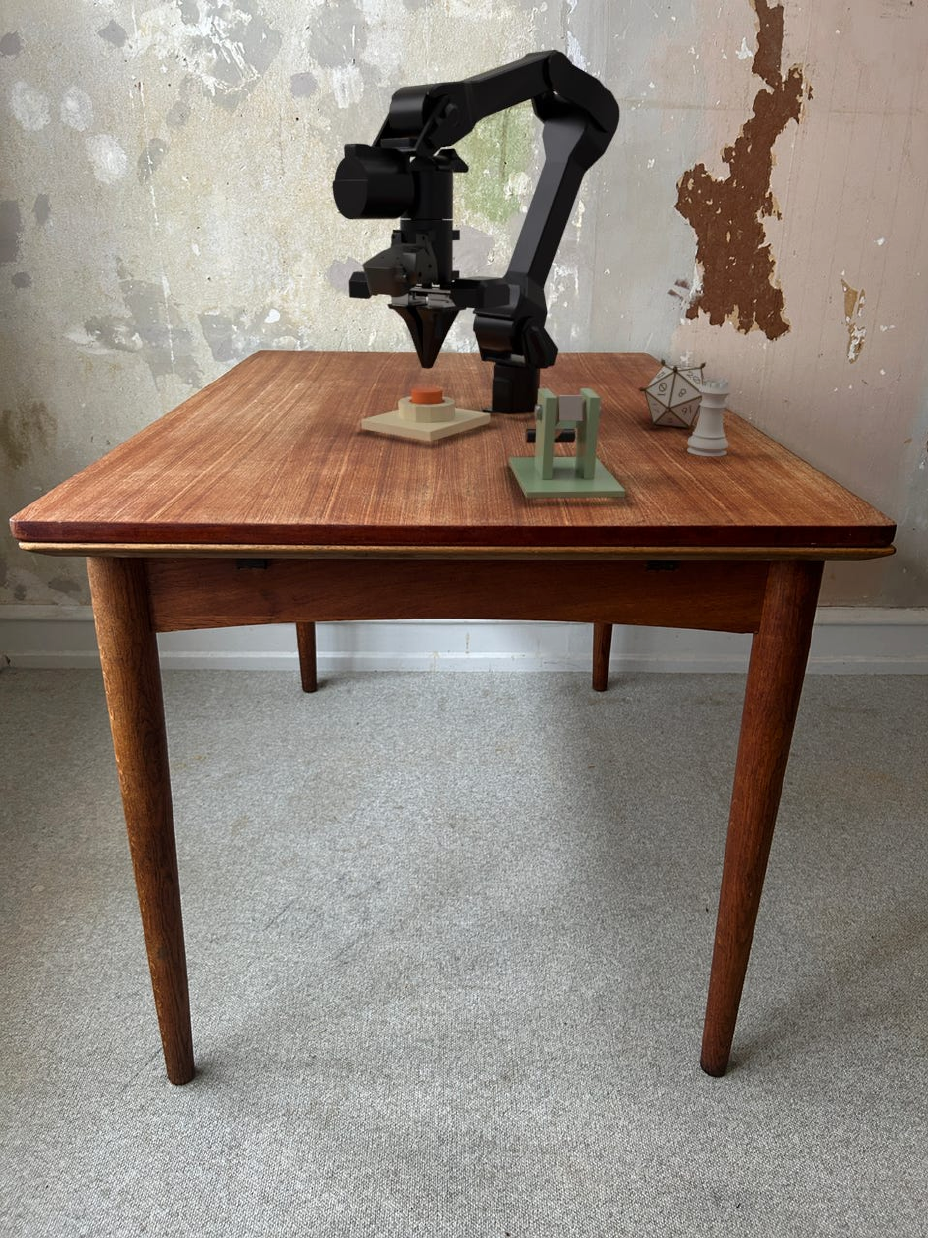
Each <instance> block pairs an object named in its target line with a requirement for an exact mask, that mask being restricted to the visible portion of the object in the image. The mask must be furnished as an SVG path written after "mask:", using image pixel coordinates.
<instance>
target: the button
mask: <svg viewBox="0 0 928 1238" xmlns="http://www.w3.org/2000/svg"><path fill="white" fill-rule="evenodd" d="M410 393H411V396H412V403H414V404H424V405H432V404H441V403H442V397H443V388H441V387H436V386H416V387H413V388H411V391H410Z"/></svg>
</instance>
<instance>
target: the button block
mask: <svg viewBox="0 0 928 1238" xmlns="http://www.w3.org/2000/svg"><path fill="white" fill-rule="evenodd" d="M397 405H398V409H396V410H392V411H388V412H384V413H381V414H376V415H373V416H369V417H365V418H362V419H361V420H360V421H361V429H362V430H367V431H371V432H378V433H381V434H382V433H383V434H388V435H393V436H399V437H404V438H408V439H414V440H420V441H426V442H433V441H437V440H439V439H442V438H446V437H449V436H453V435H456V434H459V433H462V432H466V431H469V430H471V429H475V428H478V427H481V426H485V425H487V424H490V423H491V413H484V412H482V411H477V410H471V409H465V408H458V407H456V400H455V399H453V398H451V397H448V396H442V403H441V404H432V405H424V404H414V403H412V395H410V396H405V397H403V398H402V397H401V398H400V399H399V400H398V403H397Z"/></svg>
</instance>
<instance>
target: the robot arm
mask: <svg viewBox="0 0 928 1238" xmlns="http://www.w3.org/2000/svg"><path fill="white" fill-rule="evenodd" d="M390 99H391V102H390V104H389V108H388V112H387V115H386V117H385V118H384V121H383V123H382V124H381V127H380V129H379V130H378V133H377V135H376V136H375V139H374V140H373V143H372V144H371V145H369V144H366V143H345V144H344V146H343V154H344V155H343V157H344V158H342V160H340V162H339V163H338V165H337V167H336V171H335V174H334V180H333V181H332V196H333V200H334V203H335V206H336V208H337V210H338V212H339V213H340V215H341V216H342V217H344V218H345V219H348V220H352V221H353V220H357V221H358V220H360V221H361V220H397V219H399V229H392V233H391V235H390V246H389V247H388V248H386V249H383V250H381V251H380V252H378V253H376V254H375V255H374V256H372V257H370V258H369V259H368V260H366V261H364V263H362V269H363V270H357V271H353V272H352V273H351V275H350V278H349V279H348V298H351V299H359V300H360V299H361V300H371V298H372V296H373V297H377V296H380V295H383V296H389V297H390V299H391V303H387V304H386V305H387V308H388V309H389V310H393V311H395V312H396V313H397V314H398V315H399V316H400V317H401V319H402V320H403V321H404V324H405V325H406V327H407V330H408V333H409V335H410V339H411V341H412V343H413V346H414V349H415V351H416V354H417V358H418V361H419V363H420V366H421V368H422V369H426V370H429V369H432V368H433V367H434V366H435V363H436V361H437V359H438V356H439V354H440V352H441V349H442V347H443V345H444V342H445V341H446V338H447V336H448V334H449V332H450V330H451V328H452V326H453V325H454V323H455V320H456V319H457V317H458V316H459V313H460V312H461V311H466V310H467V309H473V310H472V314H473V315H475V316H474V319H473V324H472V331H473V333H474V336H475V340H476V343H477V347H478V351H479V356H480V360H481V362H484V363H486V362H489V363H494V364H493V373H492V374H493V376H492V387H491V388H492V389H491V390H492V391H491V393H492V394H491V405H490V406H487V407H484V408H482V410H481V412H484V413H490V414H491V413H492V414H493V413H500V414H506V415H510V414H512V415H516V414H528V413H535V405H538V389H539V388H541V371H542V370H546V369H549V367H555V364H556V360H557V357H558V354H559V348H558V346H557V344H556V343H555V341H554V340H553V339H552V337H551V335H550V334H549V332H548V330H547V329H546V323H547V318H548V314H549V311H548V304H547V301H546V293H545V288H546V287H545V286H546V283H547V280H548V278H549V275H550V271H551V269H552V266H553V264H554V261H555V258H556V255H557V252H558V249H559V247H560V243H561V241H562V238H563V236H564V233H565V230H566V227H567V225H568V222H569V218H570V216H571V213H572V211H573V207H574V204H575V201H576V199H577V196H578V193H579V190H580V188H581V185H582V183H583V179H584V177H585V174H587V172H588V171H589V170H590V169H591V168H592V167H593V166H594V165H595V164H596V163H597V162H598V161H599V160H600V159H601V158H602V157H603V156H604V155H605V154H606V152H607V150H608V148H609V145H610V144H611V142H612V140H613V138H614V136H615V134H616V131H617V129H618V126H619V123H620V115H621V114H620V111H621V110H620V107H619V103H618V101H617V100H616V98H615V96H614V94H613V92H612V91H611V90H610V89H608V87H606V86H605V85H604V84H603V83H602V82H601V80H599V79H598V78H597V77H595V76H594V75H592V74H590V73H589V72H587V71H585V70H583V69H582V68H580V67H579V66H577V65H574V64H573V62H572V61H571V60H570V59H569V58H568V57H567V56H566V54H564V52H562V51H559V50H557V49H547V50H542V51H535V52H534V51H533V52H528V53H527V54H525V55H524V56H523V57H521V58H519V59H516V60H513V61H511V62H508V63H506V64H505V63H504V64H502V65H500V66H498V67H495V68H491V69H489V70H486V71H484V72H481V73H479V74H478V73H477V74H476V75H473V76H469V77H467V78H464V79H461V80H458V81H445V82H434V83H427V84H418V85H411V86H409V85H408V86H403V87H400V88H399V89H397V90H395V91H394V92H393V94H392V95H391V98H390ZM526 101H530V102H531V107H532V113H533V114H534V116H535V117H536V118H537V119H538V120H539V121H540V122H541V123H542V124H543V129H542V133H541V135H542V136H541V138H542V143H543V149H544V154H545V160H544V161H545V162H544V165H543V167H542V170H541V173H540V175H539V179H538V181H537V185H536V187H535V189H534V193H533V195H532V198H531V202H530V205H529V207H528V210H527V213H526V215H525V218H524V221H523V224H522V227H521V230H520V231H519V236H518V238H517V241H516V244H515V247H514V250H513V253H512V255H511V258H510V261H509V264H508V267H507V269H506V272H505V274H504V275H503V276H502V277H498V276H483V275H482V276H481V275H478V276H477V275H476V276H475V275H474V276H468V277H467V276H466V277H460V275H461V273H460V270H459V269H454V267H453V266H454V241H460V240H461V230H460V229H454V174H467V173H468V172H469V170H470V167H469V165H468V164H467V163H466V161H464V159H462V158H461V157H460V155H459V154H458V152H457V150H456V148H454V147H453V146H454V145H456V144H457V143H458V142H460V141H461V140H462V139H464V138H465V137H466V136H468V135H469V134H471V133H472V132H473V130H474V128H475V127H476V125H477V124H478V123H479V122H480V121H482V120H483V119H485V118H487V117H490V116H492V115H494V114H497V113H499V112H502V111H504V110H507V109H509V108H511V107H514V106H516V105H519V104H522V103H524V102H526ZM450 147H451V148H450ZM411 159H412V160H411Z"/></svg>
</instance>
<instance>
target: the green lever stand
mask: <svg viewBox="0 0 928 1238" xmlns="http://www.w3.org/2000/svg"><path fill="white" fill-rule="evenodd" d="M579 395H582V410H583V421H582V422H581V424H580V425H579V426H578V427H577V428H576V429H577V430H576V445H575V456H555V455H554V454H555V443H554V440H555V422H556V405H557V397H558V396H556V395H555V393H553V392H552V391H551V390H550V388H547V387H544V388H543V387H542V388H541V387H540V388H539V389H538V405H535V412H534V420H535V421H536V425H535V426H536V427H535V429H536V443H535V448H534V456H531V457H530V456H529V457H527V456H525V457H524V456H523V457H521V456H520V457H514V456H513V457H511V456H510V457H508V465H509V467H510V468H511V471H512V473H513V474H514V477H515V479H516V481H517V483H518V485H519V487H520V489H521V491H522V492H523V495H524V497H525V498H526V499H586V498H588V499H591V498H592V499H595V498H626V489H625V488H624V487H622V485H621V484H620V483H619V481H618V480H617V479H616V478H615V476H613V475H612V473H611V472H610V471H609V469H607V467H605V465H604V464H603V463H602V462H601V460H600V459H599V458H598V457H597V451H598V450H597V449H598V438H599V437H598V436H599V426H600V425H599V424H600V419H601V416H602V406H601V398H602V397H601V396H600V395H598V394H597V393H596V392H595V391H594V390H593V389H592V388H591V387H585V388H584V387H581V388H580V389H579Z"/></svg>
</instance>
